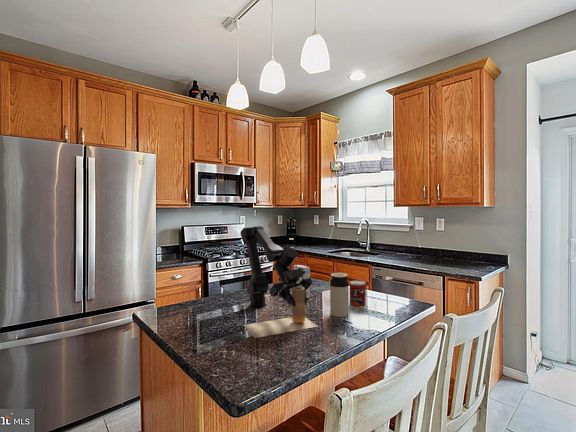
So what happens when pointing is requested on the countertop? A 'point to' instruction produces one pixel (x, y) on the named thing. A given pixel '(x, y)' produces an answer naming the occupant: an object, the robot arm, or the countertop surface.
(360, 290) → the canned food
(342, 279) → the travel mug
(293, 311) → the sleeve
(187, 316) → the countertop surface
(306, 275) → the candy bar box
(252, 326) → the pin board
